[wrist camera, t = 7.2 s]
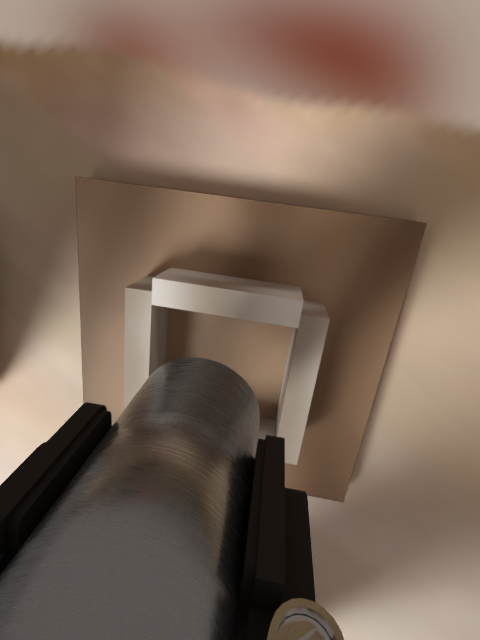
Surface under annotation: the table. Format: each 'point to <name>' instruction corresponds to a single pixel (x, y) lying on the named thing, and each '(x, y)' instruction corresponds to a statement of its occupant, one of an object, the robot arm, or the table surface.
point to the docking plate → (245, 308)
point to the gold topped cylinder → (147, 521)
